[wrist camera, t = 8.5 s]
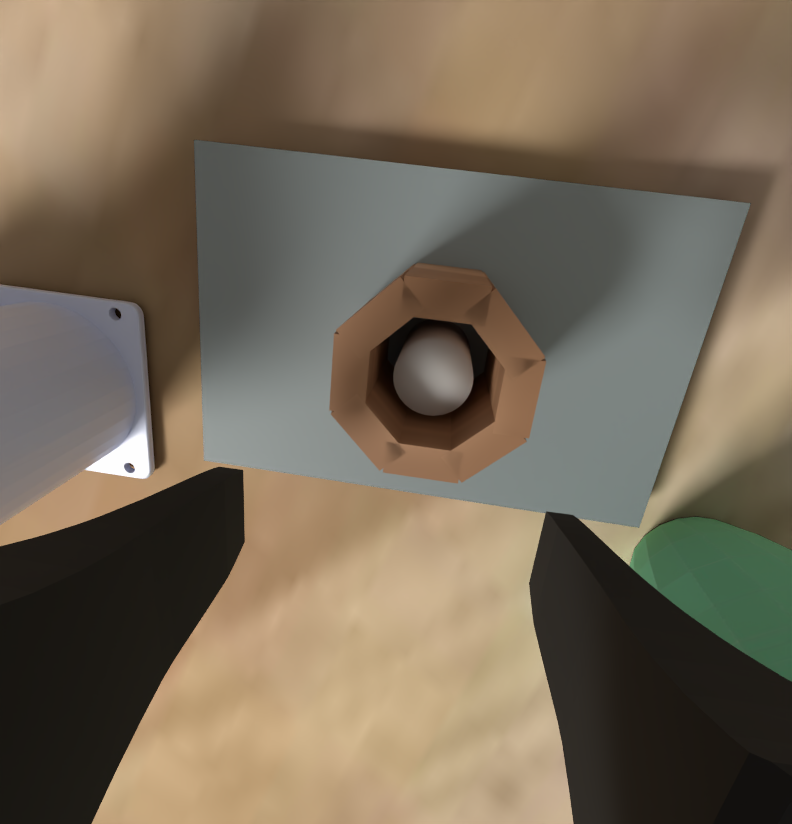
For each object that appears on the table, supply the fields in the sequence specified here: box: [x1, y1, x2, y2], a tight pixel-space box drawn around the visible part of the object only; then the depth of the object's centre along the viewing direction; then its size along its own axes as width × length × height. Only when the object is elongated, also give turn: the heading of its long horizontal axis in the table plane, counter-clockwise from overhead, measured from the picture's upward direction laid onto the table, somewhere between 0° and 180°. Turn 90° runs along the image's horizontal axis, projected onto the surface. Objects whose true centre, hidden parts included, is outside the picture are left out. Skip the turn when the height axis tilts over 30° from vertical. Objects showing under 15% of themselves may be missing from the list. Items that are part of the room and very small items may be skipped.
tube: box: [329, 263, 546, 484], centre depth 16 cm, size 6×6×5 cm
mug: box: [630, 517, 792, 682], centre depth 18 cm, size 15×10×10 cm
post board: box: [194, 140, 751, 528], centre depth 17 cm, size 18×12×5 cm, turn 84°
